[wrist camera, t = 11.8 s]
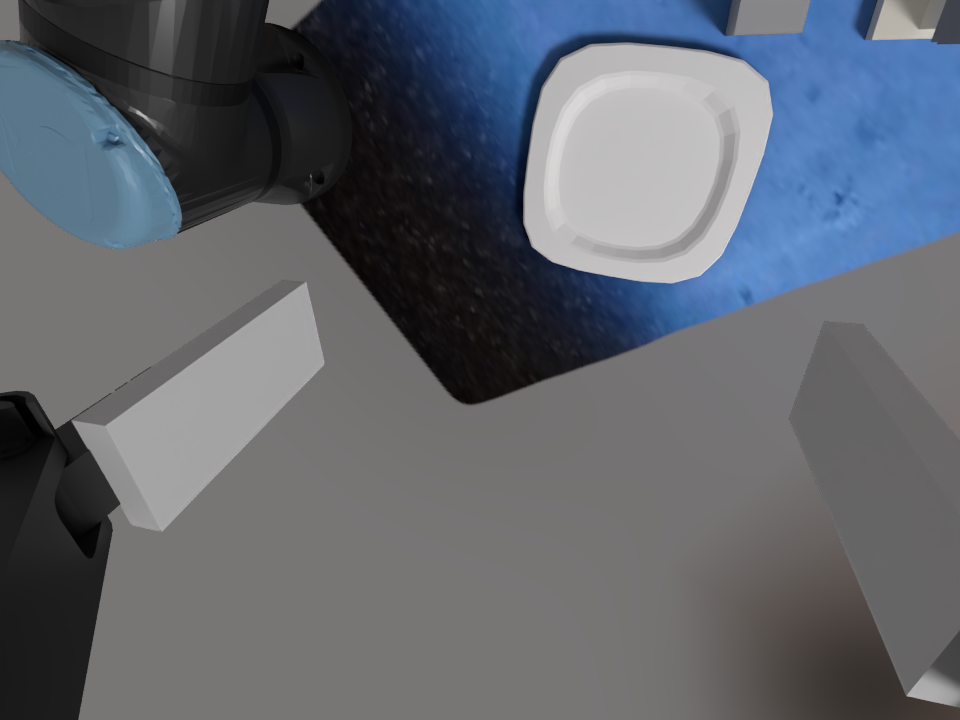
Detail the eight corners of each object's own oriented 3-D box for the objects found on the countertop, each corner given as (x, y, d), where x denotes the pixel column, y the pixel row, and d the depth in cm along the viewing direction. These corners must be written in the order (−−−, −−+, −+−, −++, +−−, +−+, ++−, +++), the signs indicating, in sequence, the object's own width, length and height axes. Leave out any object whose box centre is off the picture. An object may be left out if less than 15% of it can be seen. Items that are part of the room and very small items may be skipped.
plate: (546, 33, 39) (543, 33, 38) (793, 59, 36) (800, 59, 35) (517, 253, 49) (513, 259, 48) (709, 288, 46) (712, 295, 45)
